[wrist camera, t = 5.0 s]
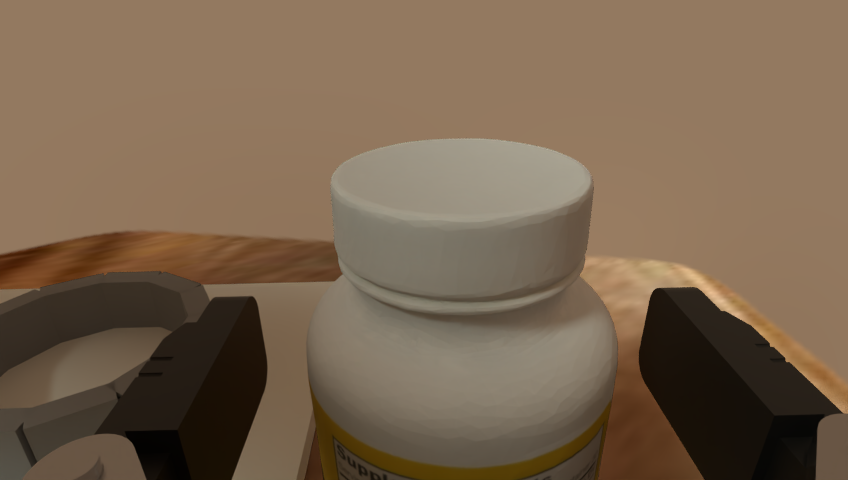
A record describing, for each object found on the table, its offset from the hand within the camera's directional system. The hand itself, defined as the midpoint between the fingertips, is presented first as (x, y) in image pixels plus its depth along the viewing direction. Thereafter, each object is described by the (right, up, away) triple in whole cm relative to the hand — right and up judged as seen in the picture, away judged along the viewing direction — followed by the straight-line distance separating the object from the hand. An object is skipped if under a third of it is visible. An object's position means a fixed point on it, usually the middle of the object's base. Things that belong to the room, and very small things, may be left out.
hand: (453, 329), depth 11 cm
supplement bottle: (0, -6, +2) cm, 6 cm away
